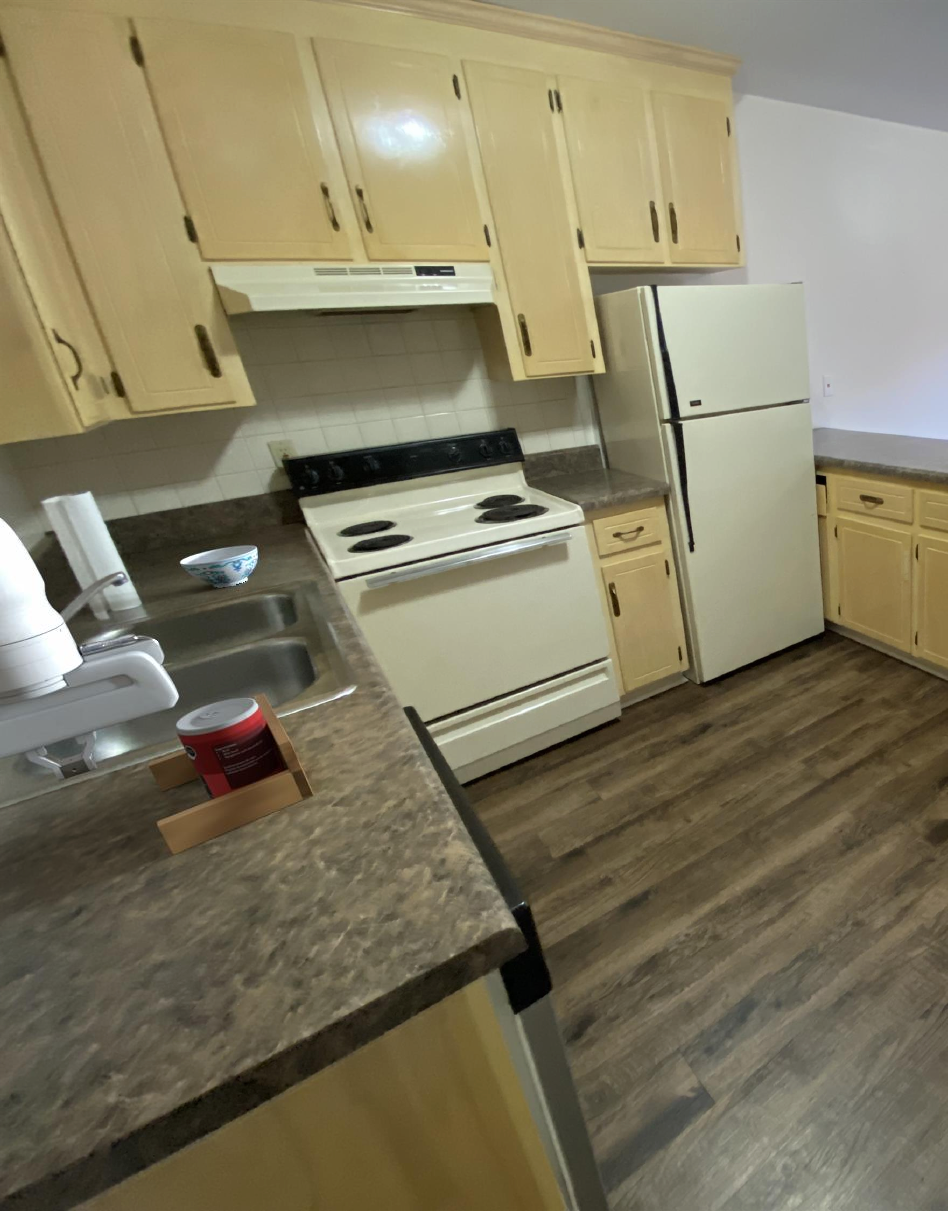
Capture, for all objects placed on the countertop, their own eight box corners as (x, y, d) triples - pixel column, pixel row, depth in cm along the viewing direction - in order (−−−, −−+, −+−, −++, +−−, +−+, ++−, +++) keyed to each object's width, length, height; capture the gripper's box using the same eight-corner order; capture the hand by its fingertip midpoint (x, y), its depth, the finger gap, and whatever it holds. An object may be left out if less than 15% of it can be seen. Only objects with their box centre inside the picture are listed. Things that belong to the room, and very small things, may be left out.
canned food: (236, 774, 87) (201, 702, 82) (301, 765, 88) (270, 693, 84) (196, 812, 80) (155, 735, 75) (267, 801, 81) (232, 725, 76)
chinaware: (282, 572, 173) (271, 544, 170) (229, 593, 159) (216, 563, 156) (233, 573, 175) (221, 546, 172) (176, 594, 161) (162, 564, 158)
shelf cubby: (173, 855, 73) (140, 796, 70) (161, 788, 85) (133, 735, 82) (313, 795, 81) (290, 740, 78) (284, 742, 93) (263, 692, 90)
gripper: (150, 621, 76) (197, 723, 82) (-138, 689, 63) (-60, 806, 68) (154, 635, 72) (203, 742, 77) (-153, 711, 59) (-69, 834, 64)
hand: (78, 773), depth 73 cm, fingers closed
